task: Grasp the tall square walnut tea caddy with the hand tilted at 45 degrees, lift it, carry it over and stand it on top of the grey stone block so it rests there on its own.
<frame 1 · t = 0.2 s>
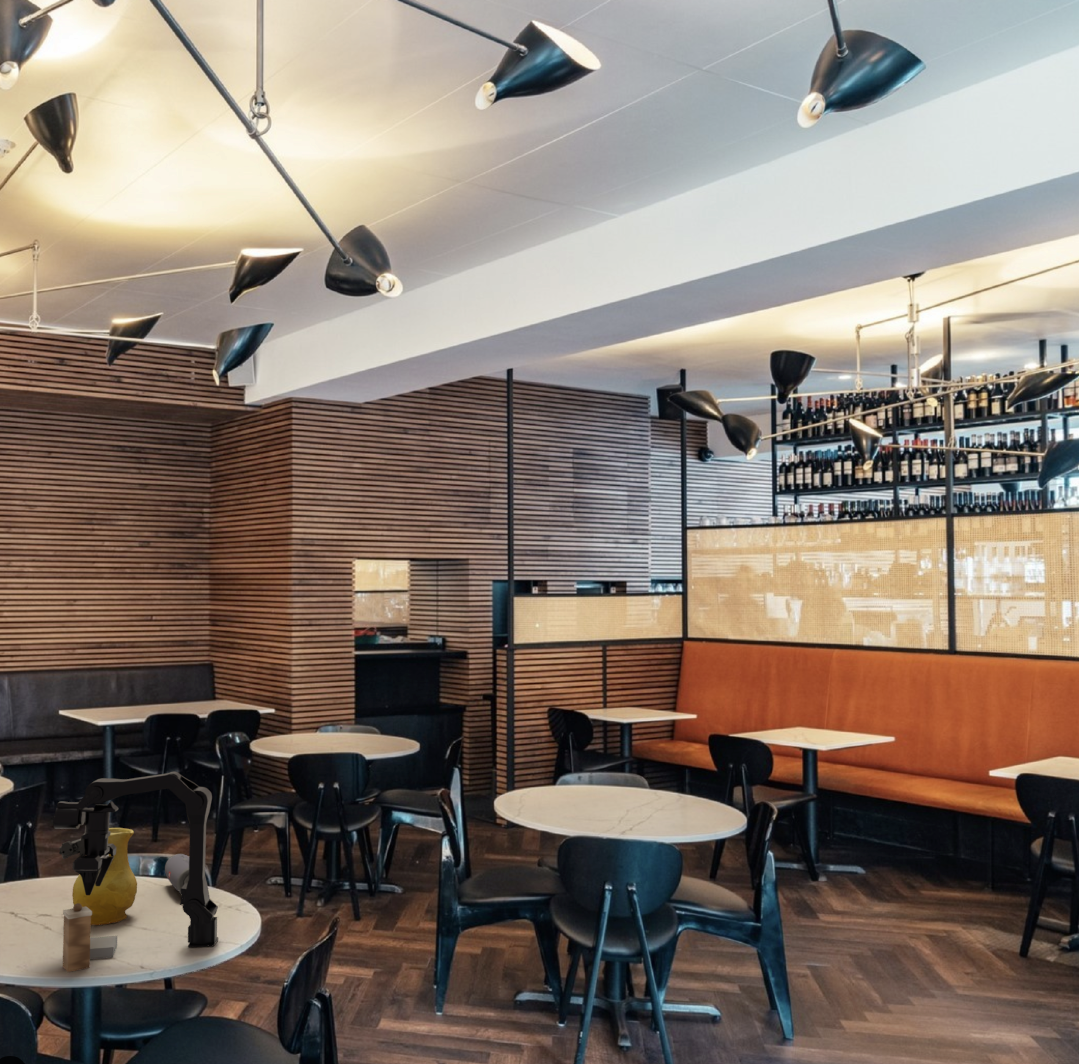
hand: (93, 890, 284), 14 cm above the table, fingers open, 9 cm apart
stone block: (94, 954, 279), on the table
pitcher: (106, 918, 310), on the table
bluetooth speaker: (184, 892, 339), on the table
tea caddy: (76, 967, 268), on the table
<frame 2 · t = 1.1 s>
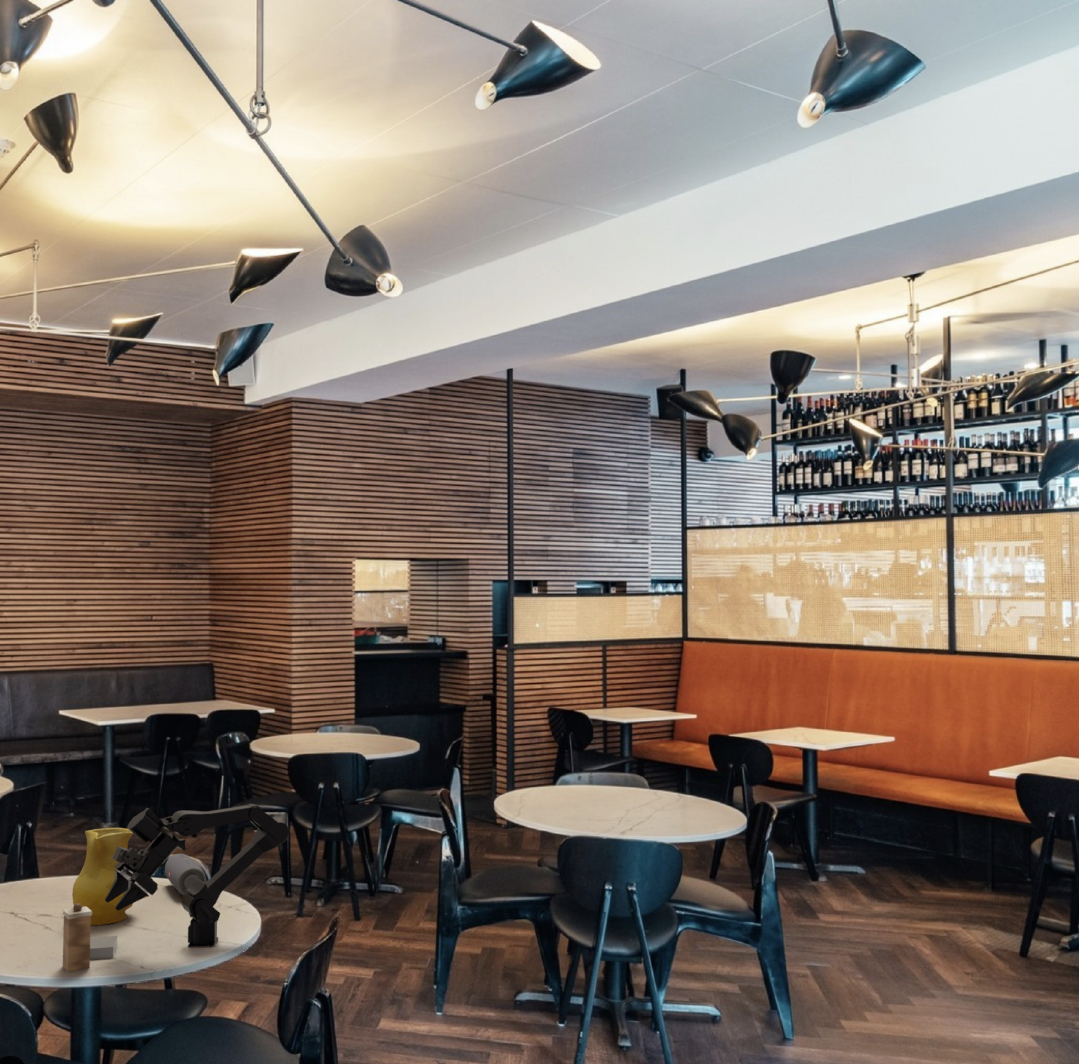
hand: (111, 905, 274), 13 cm above the table, fingers open, 9 cm apart
nothing on the table moved.
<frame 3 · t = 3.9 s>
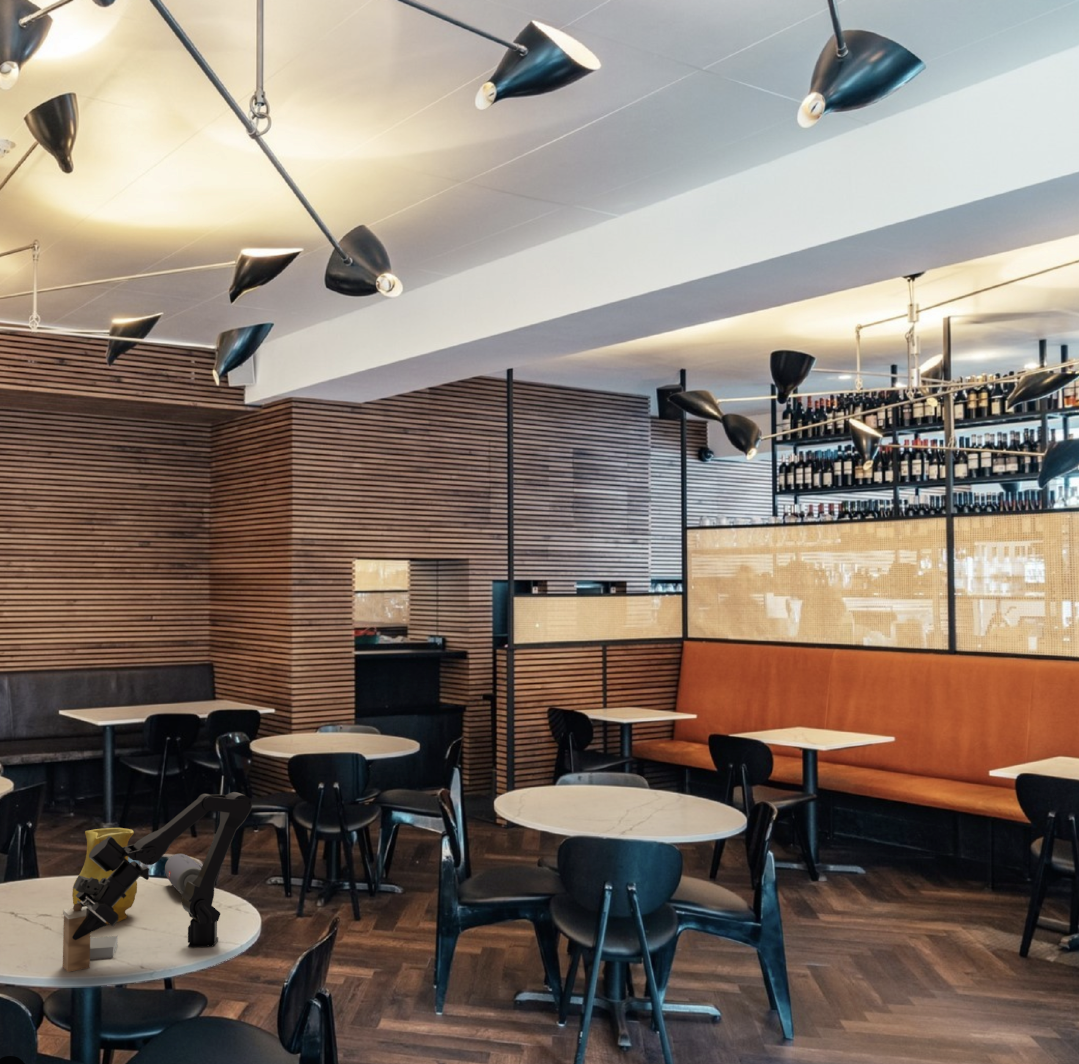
hand: (70, 936, 267), 8 cm above the table, fingers closed on tea caddy, 5 cm apart
tea caddy: (76, 967, 268), on the table, touching gripper
everything else where it was.
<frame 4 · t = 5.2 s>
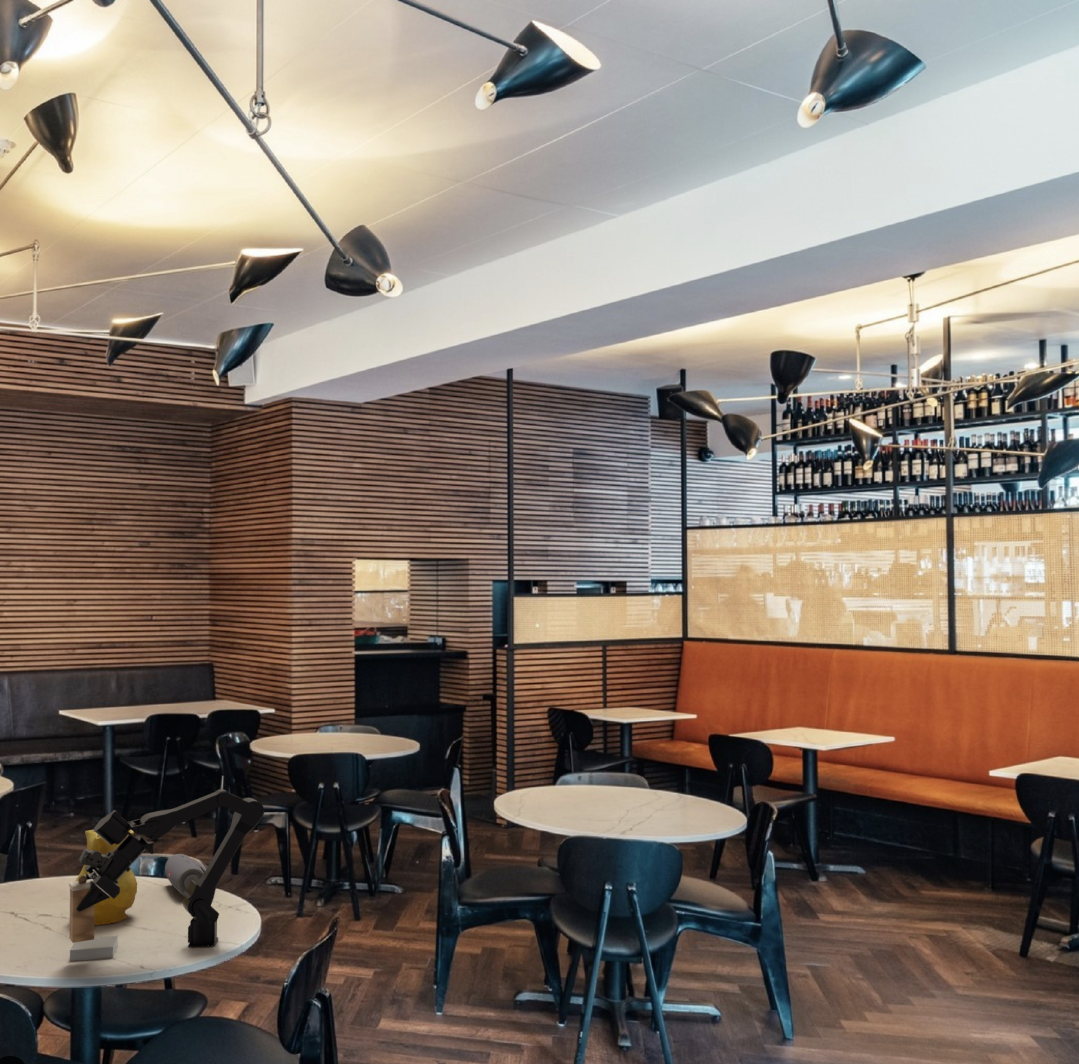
hand: (76, 907, 272), 13 cm above the table, fingers closed on tea caddy, 5 cm apart
tea caddy: (81, 938, 272), point 6 cm above the table, touching gripper
everything else where it was.
when the fingers open (11 cm above the table, at t = 6.6 s): tea caddy drops 1 cm, resting on stone block.
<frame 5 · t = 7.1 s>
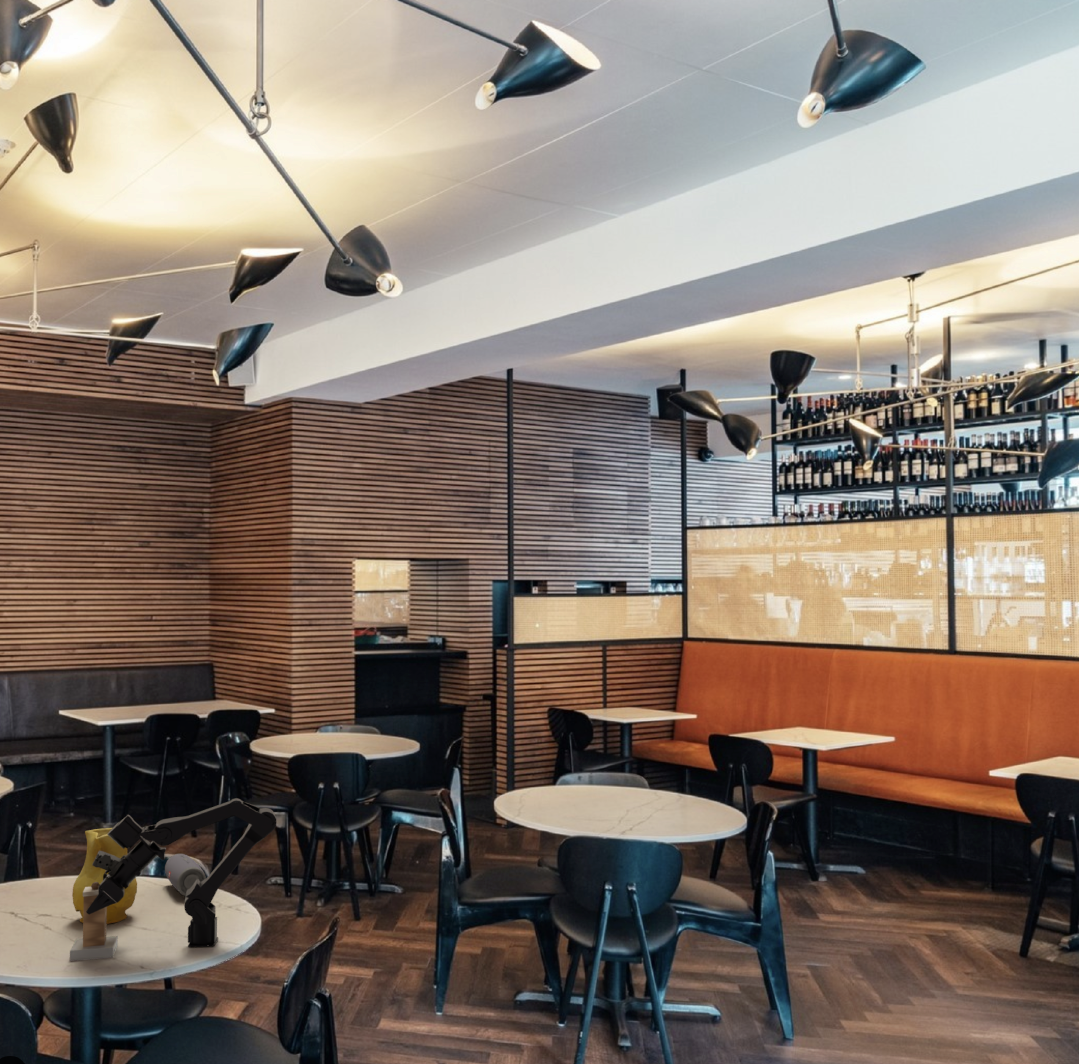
hand: (89, 908, 279), 11 cm above the table, fingers open, 9 cm apart
stone block: (94, 955, 279), on the table, touching tea caddy
tea caddy: (94, 942, 279), point 2 cm above the table, touching stone block
everything else where it was.
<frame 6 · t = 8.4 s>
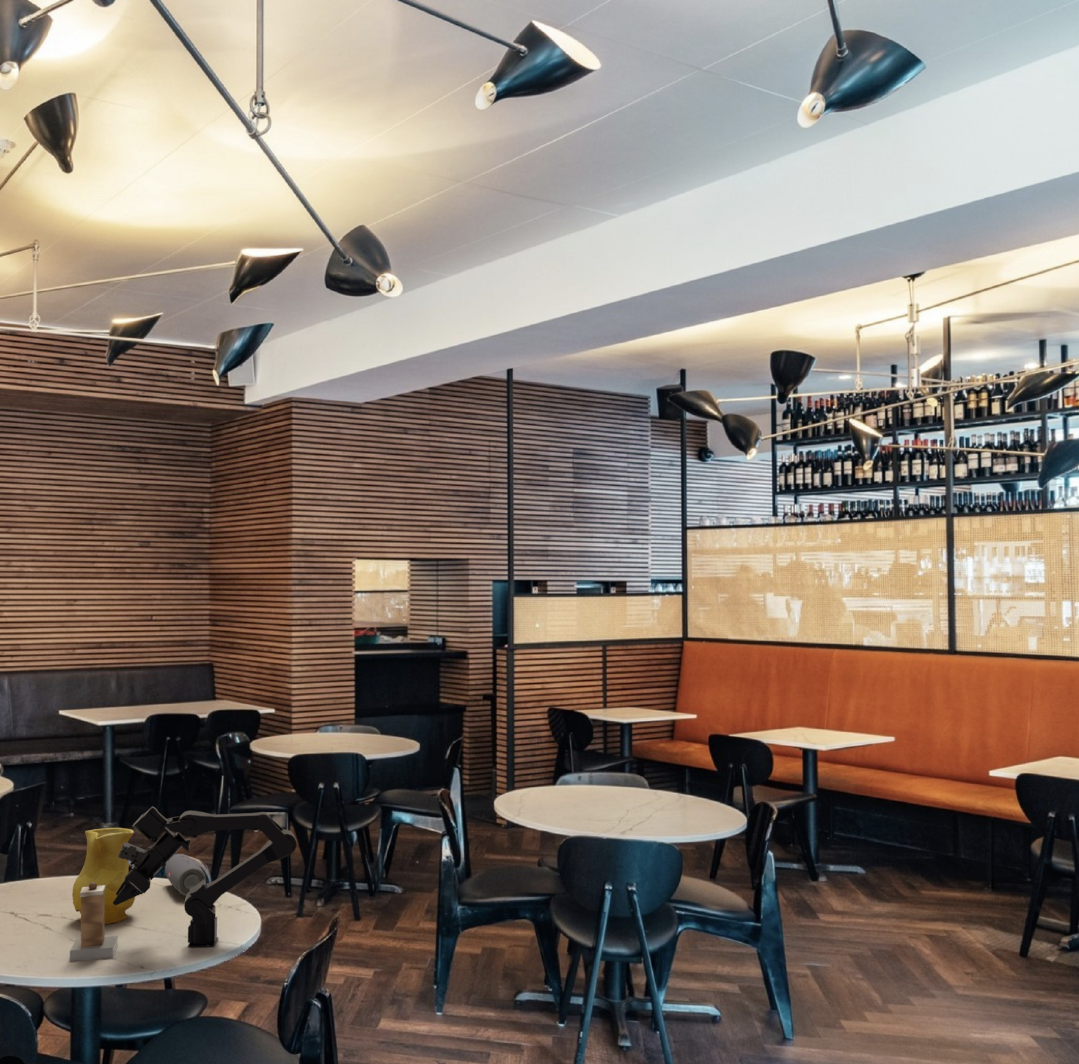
hand: (115, 899, 281), 13 cm above the table, fingers open, 9 cm apart
nothing on the table moved.
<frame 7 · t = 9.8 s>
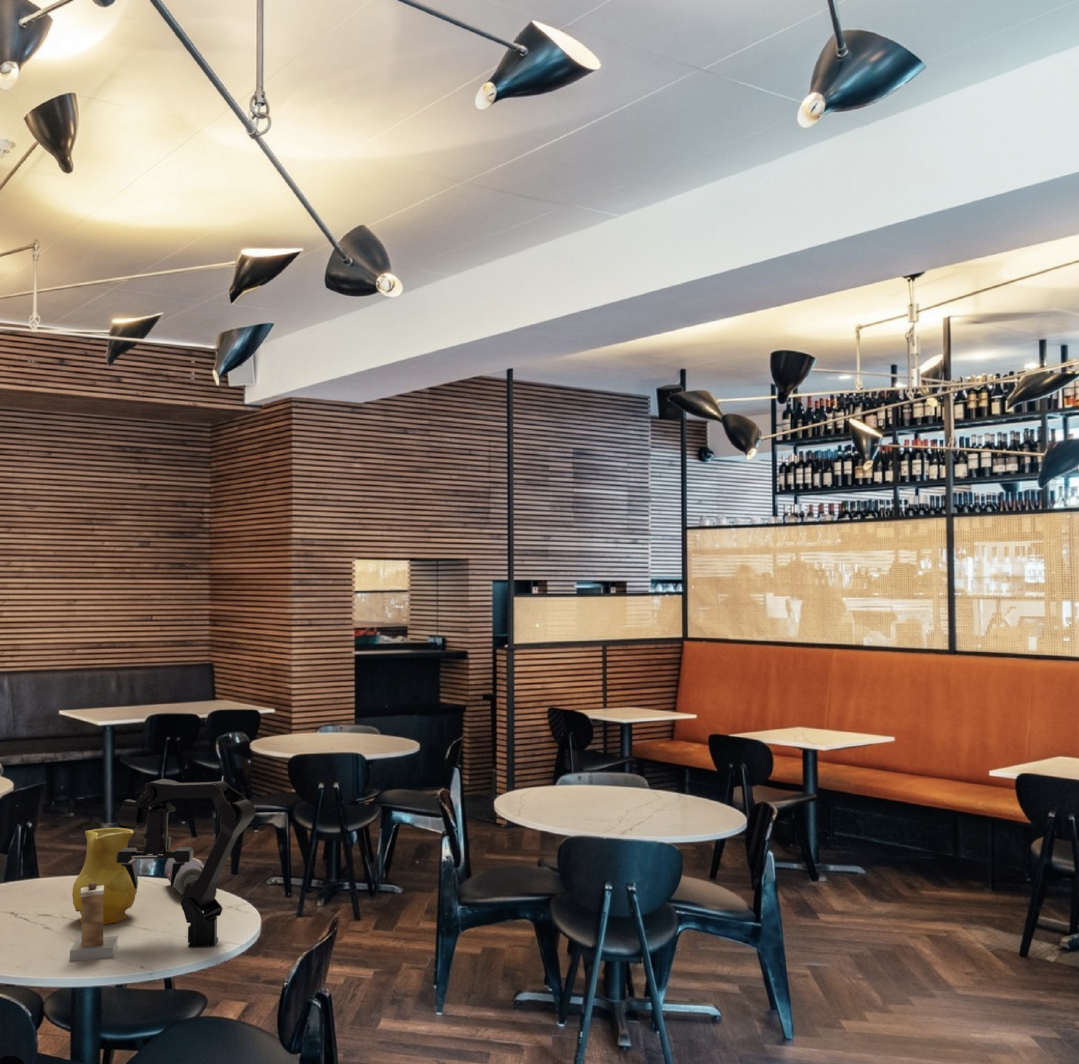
hand: (154, 887, 292), 13 cm above the table, fingers open, 9 cm apart
nothing on the table moved.
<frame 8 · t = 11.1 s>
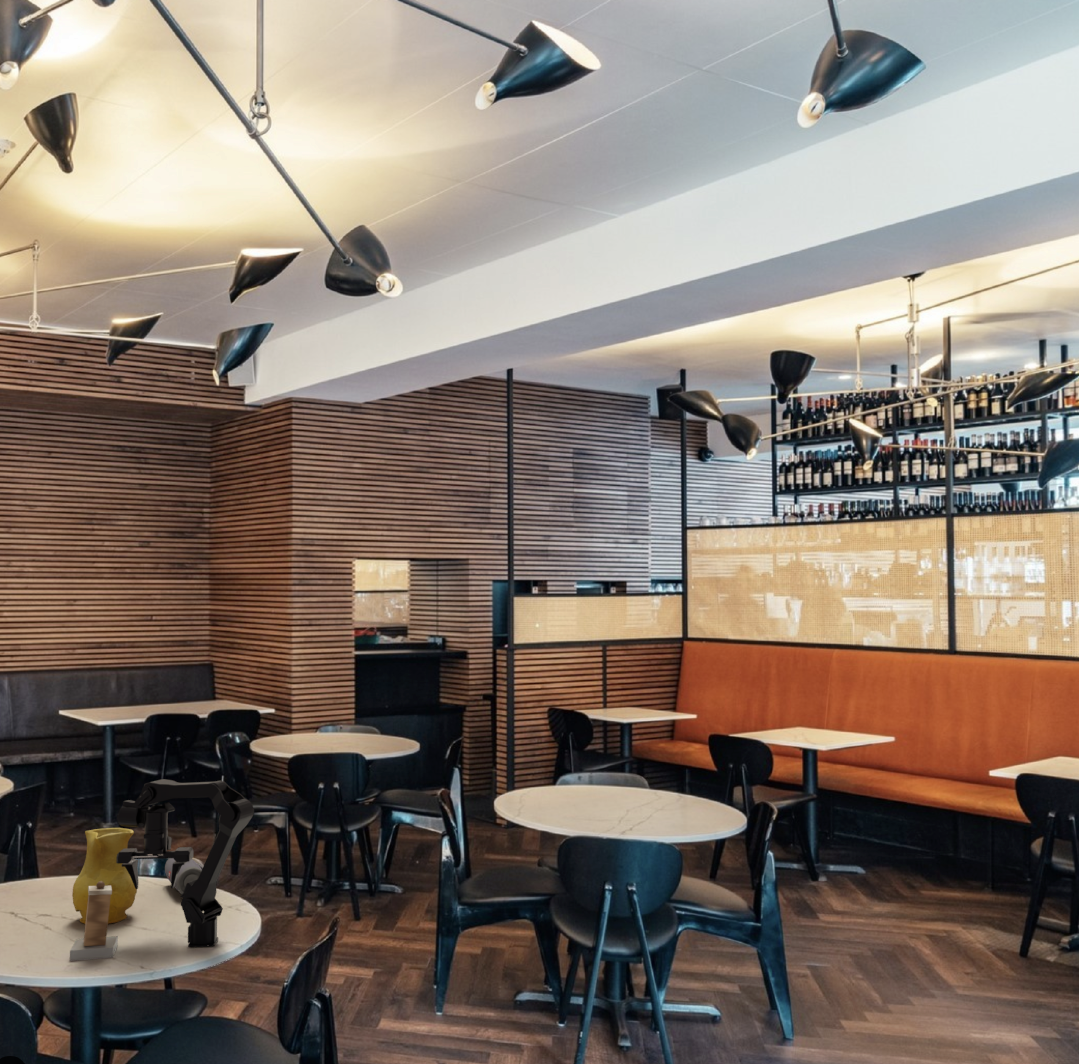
hand: (154, 888, 292), 13 cm above the table, fingers open, 9 cm apart
at the end: tea caddy inside the target area on the stone block (0.5 cm from its centre), point 3.4 cm above the stone block's base; tea caddy tilted 7°; the gripper is holding nothing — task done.
